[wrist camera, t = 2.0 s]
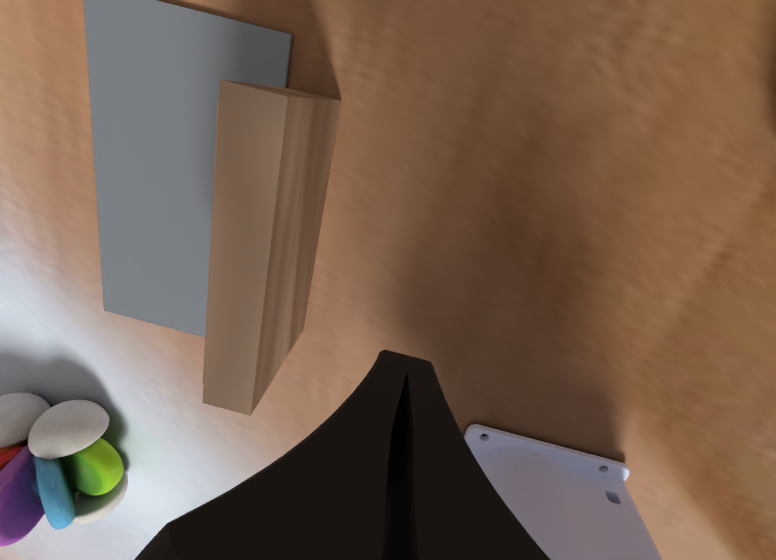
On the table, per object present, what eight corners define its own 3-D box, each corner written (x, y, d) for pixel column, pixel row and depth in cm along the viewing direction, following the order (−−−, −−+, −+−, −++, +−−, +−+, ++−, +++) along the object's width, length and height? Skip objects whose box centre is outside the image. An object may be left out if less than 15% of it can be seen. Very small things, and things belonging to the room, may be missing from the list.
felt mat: (292, 35, 17) (290, 34, 17) (256, 348, 23) (254, 350, 23) (86, -18, 17) (82, -19, 17) (106, 308, 24) (104, 310, 23)
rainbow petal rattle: (-6, 377, 27) (-151, 464, 20) (131, 394, 26) (27, 491, 20) (31, 470, 30) (-83, 572, 24) (154, 488, 30) (72, 598, 23)
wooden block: (342, 100, 18) (288, 97, 12) (303, 329, 23) (250, 415, 16) (293, 88, 18) (211, 77, 12) (264, 318, 23) (196, 401, 16)
